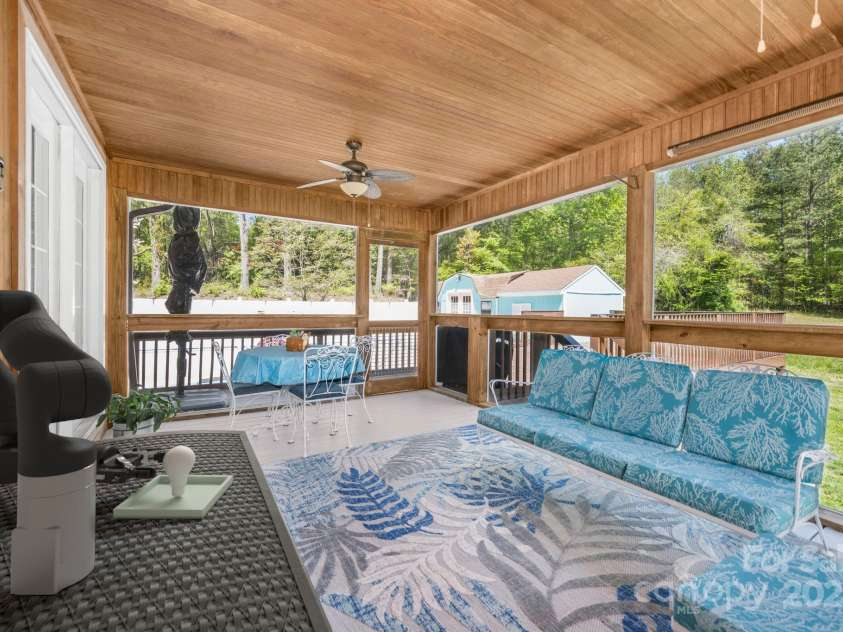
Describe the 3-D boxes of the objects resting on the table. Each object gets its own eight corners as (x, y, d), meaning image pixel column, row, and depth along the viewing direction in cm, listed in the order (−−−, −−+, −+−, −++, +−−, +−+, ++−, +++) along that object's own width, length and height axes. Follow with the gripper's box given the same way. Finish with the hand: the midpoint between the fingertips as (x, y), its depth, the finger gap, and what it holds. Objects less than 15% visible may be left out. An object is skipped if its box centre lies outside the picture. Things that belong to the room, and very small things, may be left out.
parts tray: (202, 518, 85) (202, 509, 85) (113, 518, 84) (113, 509, 84) (232, 482, 102) (233, 475, 102) (158, 482, 101) (159, 474, 101)
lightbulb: (200, 492, 96) (201, 443, 95) (182, 504, 90) (183, 452, 89) (174, 489, 96) (175, 441, 96) (154, 502, 90) (156, 450, 90)
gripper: (61, 458, 84) (148, 459, 85) (108, 435, 98) (182, 436, 99) (60, 496, 84) (147, 496, 85) (108, 467, 98) (181, 468, 100)
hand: (166, 464), depth 92 cm, fingers open, 8 cm apart
